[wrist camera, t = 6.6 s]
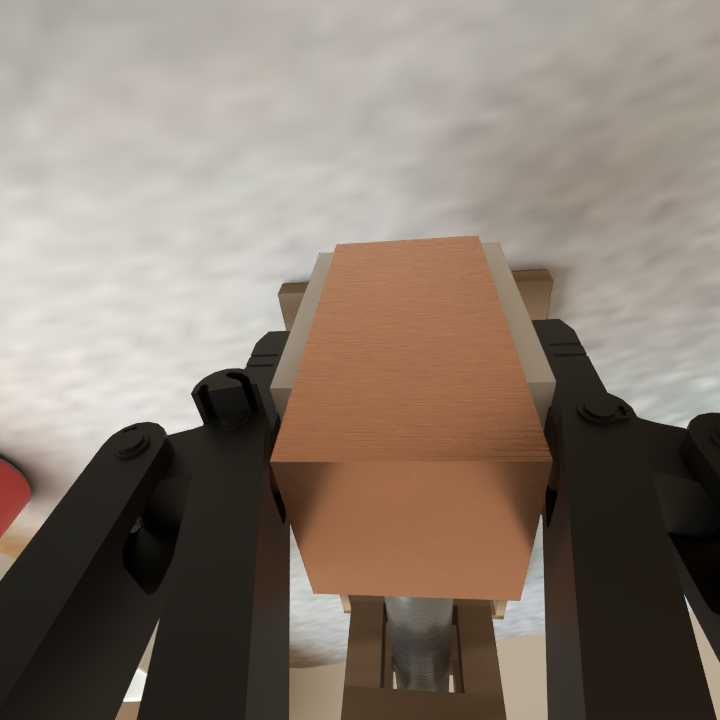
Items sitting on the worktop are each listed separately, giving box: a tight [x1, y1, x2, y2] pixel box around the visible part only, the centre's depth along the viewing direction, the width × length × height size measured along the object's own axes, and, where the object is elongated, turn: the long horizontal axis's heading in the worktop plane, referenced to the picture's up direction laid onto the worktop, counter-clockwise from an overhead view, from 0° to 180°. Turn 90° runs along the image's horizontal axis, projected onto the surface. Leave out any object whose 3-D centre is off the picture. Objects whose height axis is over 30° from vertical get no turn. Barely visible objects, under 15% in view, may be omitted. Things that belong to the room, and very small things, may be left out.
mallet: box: [270, 236, 553, 692], centre depth 16 cm, size 22×4×8 cm, turn 6°
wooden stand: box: [278, 270, 553, 720], centre depth 23 cm, size 27×12×15 cm, turn 6°
